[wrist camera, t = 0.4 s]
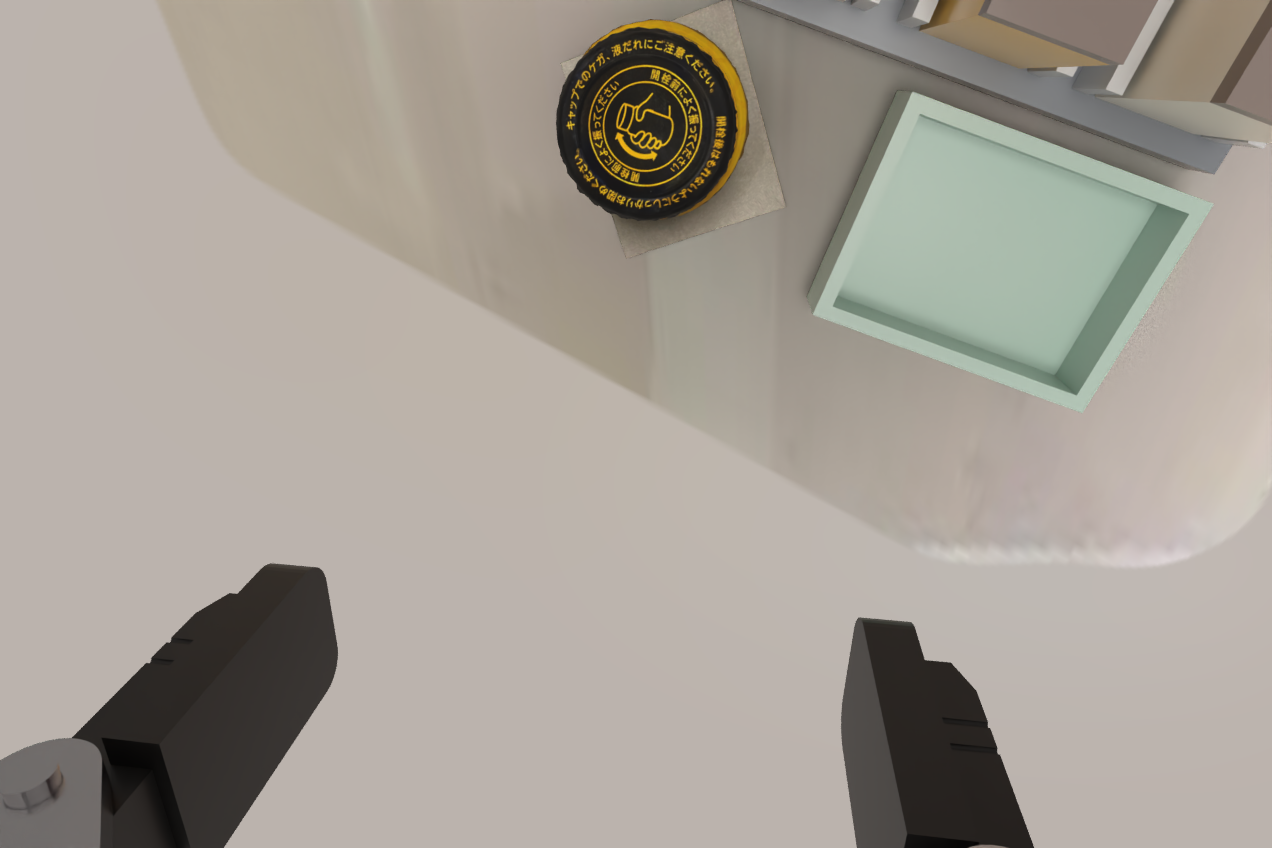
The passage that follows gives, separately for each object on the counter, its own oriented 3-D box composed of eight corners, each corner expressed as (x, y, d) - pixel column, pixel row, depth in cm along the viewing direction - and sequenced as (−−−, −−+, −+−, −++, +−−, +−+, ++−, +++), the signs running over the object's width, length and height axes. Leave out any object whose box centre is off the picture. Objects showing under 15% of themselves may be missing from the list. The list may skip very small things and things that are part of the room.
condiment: (730, -3, 32) (727, -46, 21) (785, 206, 35) (808, 264, 24) (561, 63, 34) (475, 55, 23) (627, 257, 36) (579, 334, 25)
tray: (897, 90, 32) (912, 91, 30) (1172, 193, 33) (1213, 203, 30) (806, 296, 36) (812, 314, 33) (1055, 387, 36) (1082, 413, 34)
